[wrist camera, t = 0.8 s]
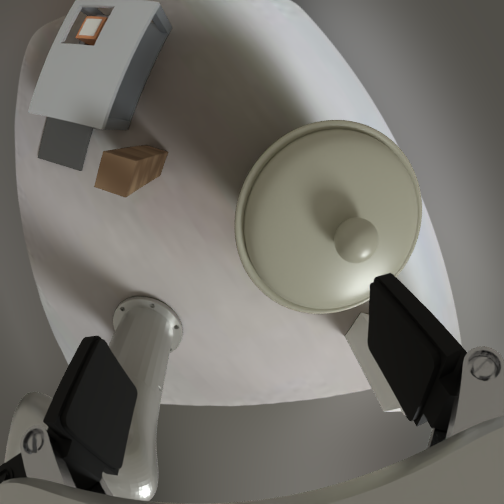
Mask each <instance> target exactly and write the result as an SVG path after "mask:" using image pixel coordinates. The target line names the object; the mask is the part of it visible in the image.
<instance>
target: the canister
mask: <svg viewBox="0 0 504 504" xmlns="http://www.w3.org/2000/svg"><path fill="white" fill-rule="evenodd" d="M421 218H422V200H421V193H420V188H419V184H418V180H417V177H416V175H415V172H414V170H413V168H412V166H411V164H410V162H409V161H408V159H407V157H406V156H405V155H404V153H403V152H402V151H401V149H400V148H399V147H398V146H397V145H396V144H395V143H394V142H393V141H392V140H390V139H389V138H388V137H387V136H385V135H384V134H382V133H381V132H379V131H377V130H375V129H373V128H371V127H369V126H366V125H364V124H360V123H357V122H352V121H345V120H327V121H320V122H315V123H311V124H308V125H305V126H302V127H300V128H297V129H295V130H293V131H291V132H289V133H288V134H286V135H284V136H283V137H281V138H280V139H279V140H277V141H276V142H275V143H273V144H272V145H271V146H270V147H269V148H268V149H267V150H266V151H265V152H264V153H263V154H262V155H261V156H260V158H259V159H258V160H257V161H256V163H255V164H254V166H253V167H252V169H251V170H250V172H249V174H248V175H247V177H246V179H245V182H244V184H243V186H242V189H241V191H240V194H239V198H238V202H237V206H236V212H235V239H236V245H237V250H238V253H239V256H240V259H241V262H242V264H243V266H244V268H245V270H246V272H247V274H248V276H249V277H250V279H251V280H252V281H253V283H254V284H255V285H256V286H257V287H258V288H259V289H260V290H261V291H262V292H263V293H264V294H265V295H266V296H268V297H269V298H270V299H272V300H273V301H275V302H276V303H278V304H280V305H282V306H284V307H287V308H289V309H292V310H295V311H299V312H304V313H311V314H328V313H335V312H340V311H344V310H348V309H351V308H354V307H356V306H359V305H361V304H363V303H365V302H367V301H368V300H369V298H370V284H371V283H372V282H374V278H375V277H377V276H381V275H384V274H388V273H392V274H393V275H394V276H395V277H397V276H398V275H399V273H400V272H401V271H402V269H403V268H404V266H405V265H406V263H407V261H408V260H409V258H410V256H411V254H412V252H413V250H414V247H415V245H416V242H417V239H418V235H419V231H420V226H421Z"/></svg>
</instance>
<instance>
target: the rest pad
mask: <svg viewBox="0 0 504 504" xmlns="http://www.w3.org/2000/svg"><path fill="white" fill-rule="evenodd" d="M92 130H93V127H90V126H86V125H82V124H78V123H74V122H70V121H65V120H61V119H56V118H52V117H48V118H47V121H46V125H45V129H44V133H43V137H42V141H41V145H40V150H39V155H38V158H40V159H43V160H47V161H50V162H53V163H56V164H60V165H63V166H66V167H69V168H73V169H76V170H79V171H82V167H83V163H84V159H85V155H86V152H87V148H88V144H89V141H90V137H91V134H92Z"/></svg>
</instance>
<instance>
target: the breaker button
mask: <svg viewBox="0 0 504 504" xmlns="http://www.w3.org/2000/svg"><path fill="white" fill-rule="evenodd" d="M107 19H108V18H107V17H96V16H86V18H85V20H84V22H83V24H82V26H81V28H80V29H79V31H78V33H77V35H76V37H75V38H77V39H79V40H81V41H82V42H84V43H86V44H88V45H93V46H94V45H95V42H96V40H97V38H98V36H99V34H100V32H101V30H102V29H103V27H104V25H105V23H106V21H107Z"/></svg>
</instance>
